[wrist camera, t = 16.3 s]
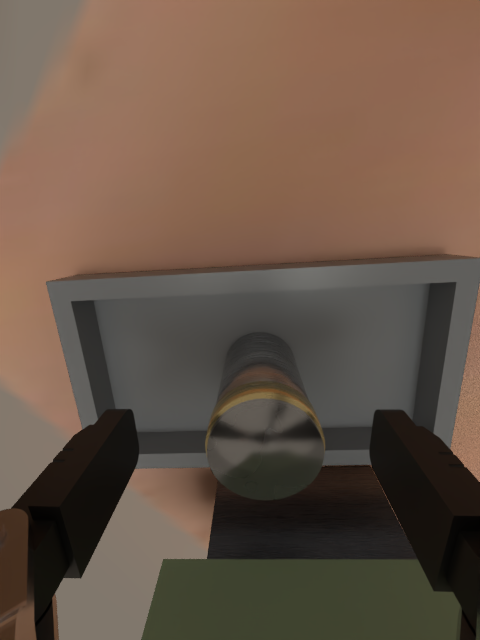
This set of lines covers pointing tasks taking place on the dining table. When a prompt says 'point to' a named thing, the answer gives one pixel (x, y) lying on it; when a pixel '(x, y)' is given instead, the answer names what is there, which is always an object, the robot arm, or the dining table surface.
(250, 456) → the pin
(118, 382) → the parts tray
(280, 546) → the control unit
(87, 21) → the dining table surface
